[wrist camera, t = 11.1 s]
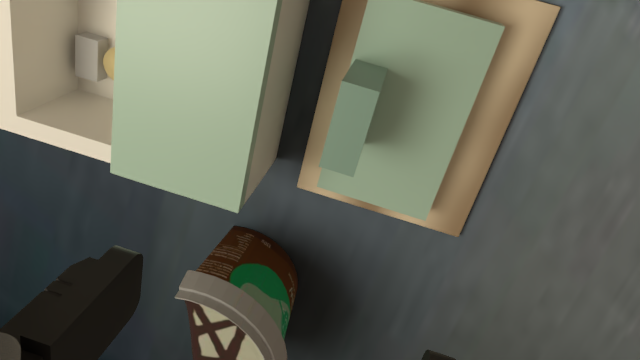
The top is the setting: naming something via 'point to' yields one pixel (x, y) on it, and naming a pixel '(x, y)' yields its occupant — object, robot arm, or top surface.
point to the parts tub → (155, 86)
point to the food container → (240, 299)
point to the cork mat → (485, 116)
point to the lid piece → (405, 103)
